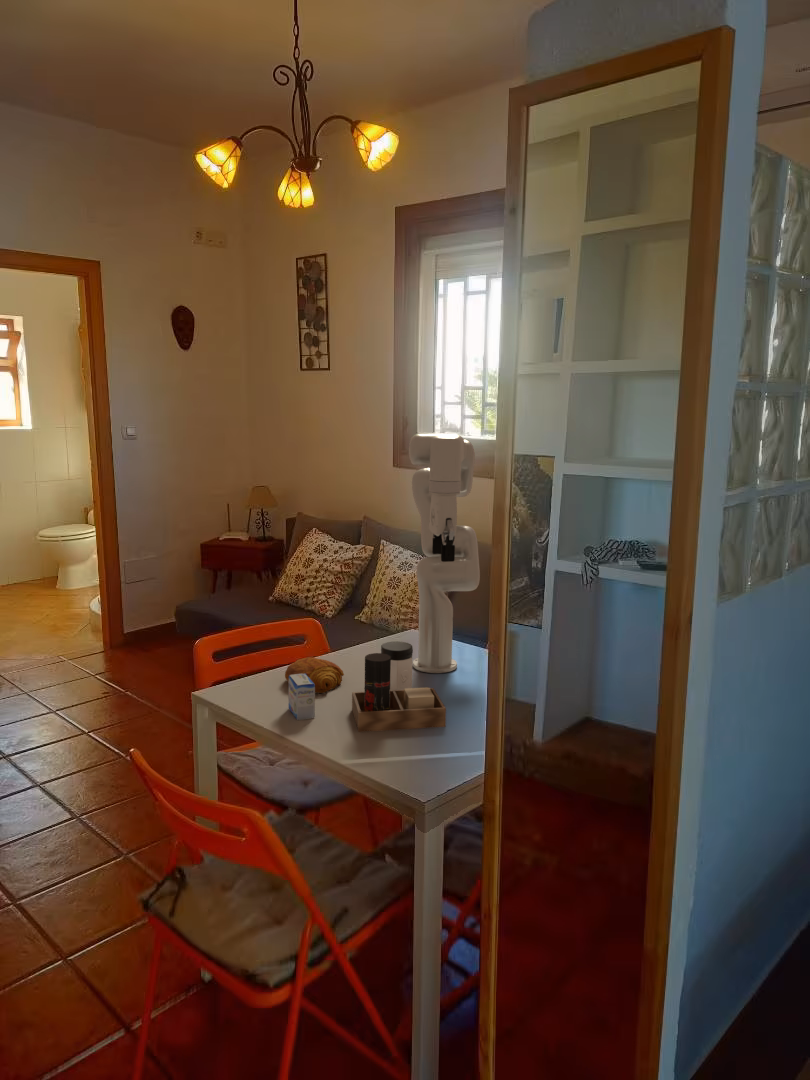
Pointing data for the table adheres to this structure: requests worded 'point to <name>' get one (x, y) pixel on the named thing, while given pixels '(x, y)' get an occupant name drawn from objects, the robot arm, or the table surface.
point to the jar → (399, 664)
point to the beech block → (418, 698)
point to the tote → (397, 714)
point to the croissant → (317, 673)
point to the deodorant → (377, 682)
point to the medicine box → (301, 696)
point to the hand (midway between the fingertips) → (443, 557)
